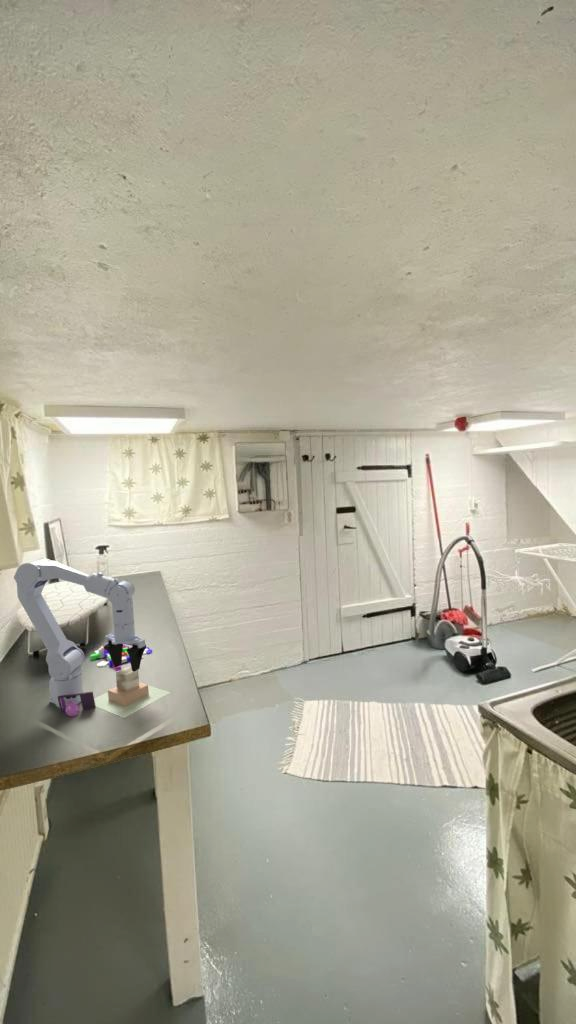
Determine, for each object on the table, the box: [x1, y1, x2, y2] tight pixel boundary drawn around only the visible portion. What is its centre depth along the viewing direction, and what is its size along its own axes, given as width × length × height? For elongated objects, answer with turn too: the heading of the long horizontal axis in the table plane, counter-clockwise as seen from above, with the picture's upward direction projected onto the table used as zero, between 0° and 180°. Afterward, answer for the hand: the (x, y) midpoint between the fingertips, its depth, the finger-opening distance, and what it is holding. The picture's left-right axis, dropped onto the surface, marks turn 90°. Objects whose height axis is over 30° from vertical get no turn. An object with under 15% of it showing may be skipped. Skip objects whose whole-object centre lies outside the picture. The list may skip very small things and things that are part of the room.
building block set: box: [89, 644, 153, 672], centre depth 159 cm, size 25×20×4 cm
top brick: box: [115, 666, 140, 692], centre depth 123 cm, size 4×4×5 cm
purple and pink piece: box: [58, 691, 97, 717], centre depth 115 cm, size 7×5×9 cm
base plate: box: [94, 684, 171, 719], centre depth 123 cm, size 18×16×1 cm
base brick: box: [107, 681, 149, 707], centre depth 123 cm, size 8×8×3 cm
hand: (126, 668), depth 123 cm, fingers open, 7 cm apart
